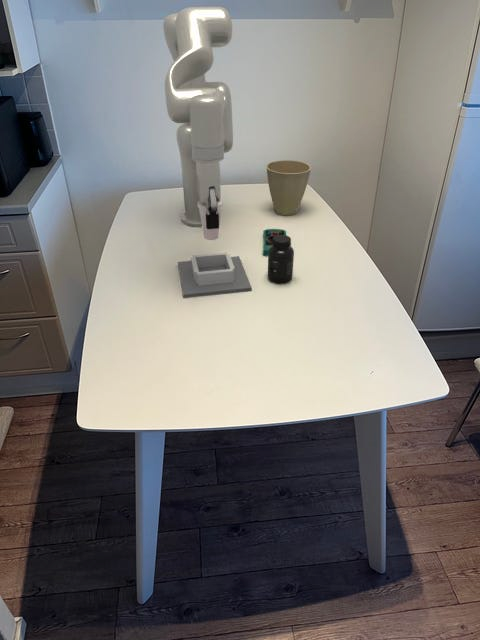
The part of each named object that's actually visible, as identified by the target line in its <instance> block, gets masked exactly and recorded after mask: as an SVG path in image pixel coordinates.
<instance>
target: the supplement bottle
mask: <svg viewBox="0 0 480 640" xmlns="http://www.w3.org/2000/svg"><path fill="white" fill-rule="evenodd" d="M294 258H295V250H294V248H293V247H292V238H291V237H290V235H289V236H288V235H287V234H286V235H276V236H274V237H273V242H272V246H271V247H270V248H269V251H268V256H267V279H268V281H270V282H271V283H273V284H276V285H277V284H278V285H284V284H287V283H290V282H291V281H292V279H293V273H294V260H295V259H294Z"/></svg>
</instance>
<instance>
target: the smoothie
mask: <svg viewBox="0 0 480 640" xmlns="http://www.w3.org/2000/svg"><path fill="white" fill-rule="evenodd" d="M208 202H210V199H208ZM223 205H224V204H223V200H222V199H221V198H220V202H218V213H219V228H218V229H207V228H206V214H207V210H206V203H204V204H202V203H201V202H200V200H199V201H198V205H197V206H198V208H199V211H200V216H201V222H202V226H201V227H202V231H203V237H204V240H206V241H215V240H217V239H218V238H219V235H220V225H221V224H220V223H221V217H222V216H221V215H222V213H221V212H222V208H223V207H224V206H223ZM210 206H211V204H209V207H210Z"/></svg>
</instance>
